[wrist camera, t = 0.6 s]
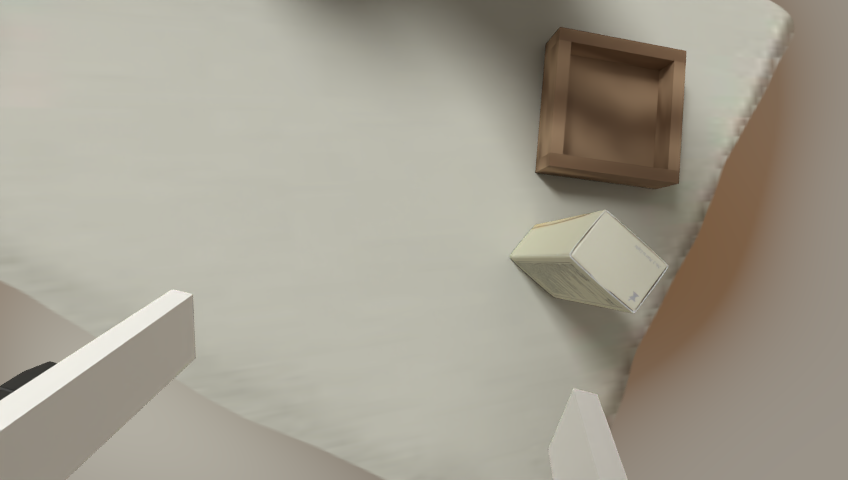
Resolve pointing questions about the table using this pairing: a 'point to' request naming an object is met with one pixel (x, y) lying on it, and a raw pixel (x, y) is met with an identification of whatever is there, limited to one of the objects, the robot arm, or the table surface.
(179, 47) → the table surface
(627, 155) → the tray
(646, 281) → the skincare box
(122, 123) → the table surface
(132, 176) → the table surface
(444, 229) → the table surface
